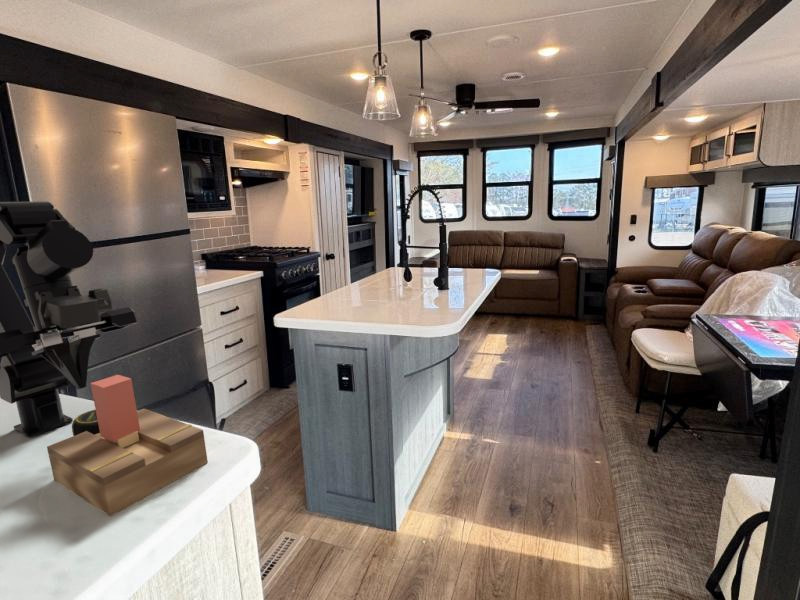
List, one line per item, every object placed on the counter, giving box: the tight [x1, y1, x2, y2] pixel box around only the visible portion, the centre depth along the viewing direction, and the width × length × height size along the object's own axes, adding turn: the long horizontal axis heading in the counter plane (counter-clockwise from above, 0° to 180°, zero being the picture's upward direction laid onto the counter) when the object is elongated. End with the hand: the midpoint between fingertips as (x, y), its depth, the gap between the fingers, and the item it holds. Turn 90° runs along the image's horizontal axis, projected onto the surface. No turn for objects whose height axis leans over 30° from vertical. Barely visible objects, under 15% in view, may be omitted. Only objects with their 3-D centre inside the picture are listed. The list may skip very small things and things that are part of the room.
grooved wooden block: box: [46, 408, 209, 517], centre depth 62 cm, size 15×13×5 cm
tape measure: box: [71, 409, 100, 437], centre depth 73 cm, size 7×7×4 cm
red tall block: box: [90, 374, 140, 448], centre depth 62 cm, size 4×4×9 cm
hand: (81, 388), depth 66 cm, fingers closed
